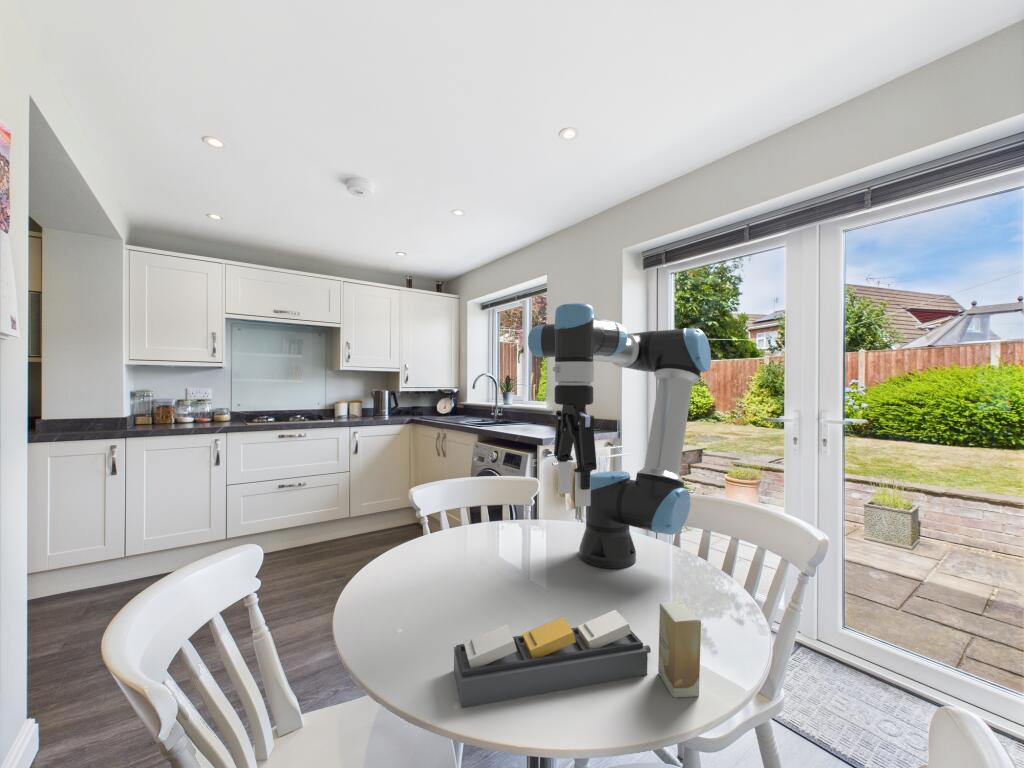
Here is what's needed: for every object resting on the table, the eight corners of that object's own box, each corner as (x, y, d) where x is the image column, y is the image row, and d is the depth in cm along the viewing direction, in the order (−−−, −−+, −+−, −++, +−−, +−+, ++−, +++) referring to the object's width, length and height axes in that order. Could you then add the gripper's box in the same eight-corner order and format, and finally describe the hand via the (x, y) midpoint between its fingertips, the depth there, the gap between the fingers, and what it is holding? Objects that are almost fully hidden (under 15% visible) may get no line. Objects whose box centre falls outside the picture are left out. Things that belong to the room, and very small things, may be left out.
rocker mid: (565, 626, 80) (562, 615, 80) (576, 641, 75) (573, 630, 75) (524, 643, 78) (522, 632, 78) (533, 660, 74) (530, 649, 73)
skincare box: (657, 672, 77) (657, 600, 77) (682, 671, 77) (682, 599, 77) (674, 699, 70) (674, 621, 70) (701, 698, 71) (702, 619, 71)
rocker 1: (509, 634, 78) (506, 623, 77) (517, 651, 73) (514, 639, 73) (466, 652, 76) (463, 641, 76) (471, 670, 71) (467, 658, 71)
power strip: (635, 641, 86) (636, 616, 86) (663, 671, 77) (663, 643, 77) (453, 670, 77) (453, 642, 77) (461, 707, 69) (461, 676, 69)
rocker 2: (617, 618, 82) (615, 608, 82) (631, 633, 78) (628, 622, 78) (579, 635, 81) (576, 624, 81) (591, 651, 76) (588, 640, 76)
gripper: (538, 383, 99) (538, 487, 100) (576, 385, 78) (576, 517, 79) (571, 383, 101) (571, 485, 102) (617, 385, 80) (616, 513, 81)
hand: (573, 499), depth 90 cm, fingers open, 9 cm apart
